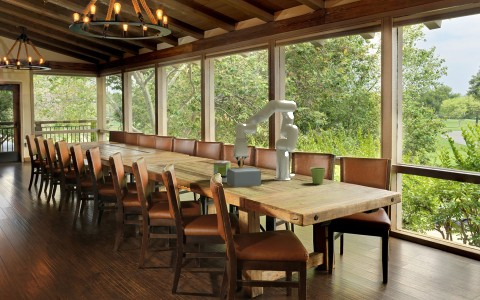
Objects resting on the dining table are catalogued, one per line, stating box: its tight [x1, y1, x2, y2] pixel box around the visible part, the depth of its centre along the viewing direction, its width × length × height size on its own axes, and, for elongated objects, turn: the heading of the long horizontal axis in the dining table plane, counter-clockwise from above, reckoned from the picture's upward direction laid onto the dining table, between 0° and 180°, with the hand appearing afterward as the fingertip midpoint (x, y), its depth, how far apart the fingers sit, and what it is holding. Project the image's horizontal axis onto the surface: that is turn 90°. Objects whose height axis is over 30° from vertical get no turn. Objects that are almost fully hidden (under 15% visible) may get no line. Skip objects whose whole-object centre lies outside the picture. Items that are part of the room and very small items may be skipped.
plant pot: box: [309, 166, 327, 185], centre depth 309 cm, size 12×12×11 cm
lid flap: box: [227, 157, 262, 173], centre depth 301 cm, size 20×16×8 cm
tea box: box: [212, 160, 232, 183], centre depth 318 cm, size 15×10×15 cm
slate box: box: [226, 170, 262, 188], centre depth 302 cm, size 20×16×10 cm
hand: (240, 165), depth 307 cm, fingers closed
